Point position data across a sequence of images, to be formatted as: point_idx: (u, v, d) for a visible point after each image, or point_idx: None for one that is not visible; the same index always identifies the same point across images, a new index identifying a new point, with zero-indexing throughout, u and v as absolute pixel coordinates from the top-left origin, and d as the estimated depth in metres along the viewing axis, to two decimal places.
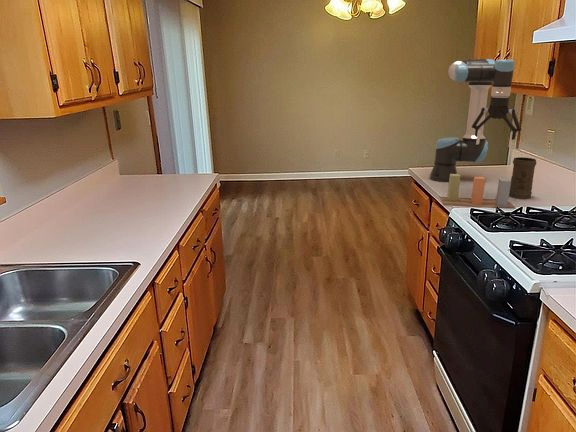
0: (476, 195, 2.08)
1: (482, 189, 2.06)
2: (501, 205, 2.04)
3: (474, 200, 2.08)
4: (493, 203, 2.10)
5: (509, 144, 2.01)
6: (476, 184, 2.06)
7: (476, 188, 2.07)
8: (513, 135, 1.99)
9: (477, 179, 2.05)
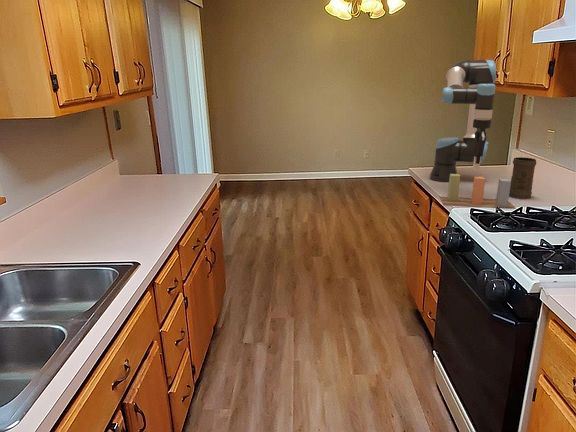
0: (476, 195, 2.08)
1: (482, 189, 2.06)
2: (501, 205, 2.04)
3: (474, 200, 2.08)
4: (493, 203, 2.10)
5: (473, 167, 2.14)
6: (476, 184, 2.06)
7: (476, 188, 2.07)
8: (476, 159, 2.12)
9: (477, 179, 2.05)
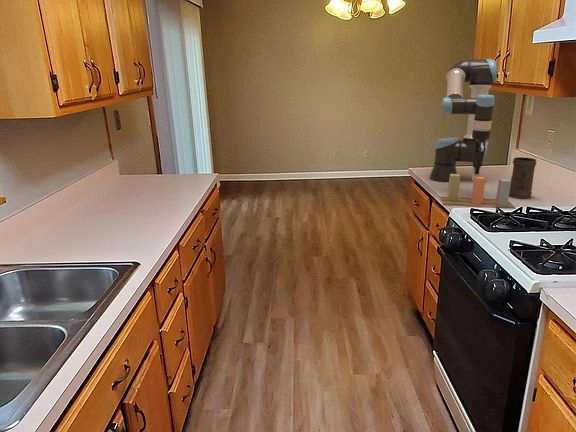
0: (476, 195, 2.08)
1: (482, 189, 2.06)
2: (501, 205, 2.04)
3: (474, 200, 2.08)
4: (493, 203, 2.10)
5: (472, 177, 2.15)
6: (476, 184, 2.06)
7: (476, 188, 2.07)
8: (475, 170, 2.13)
9: (477, 179, 2.05)
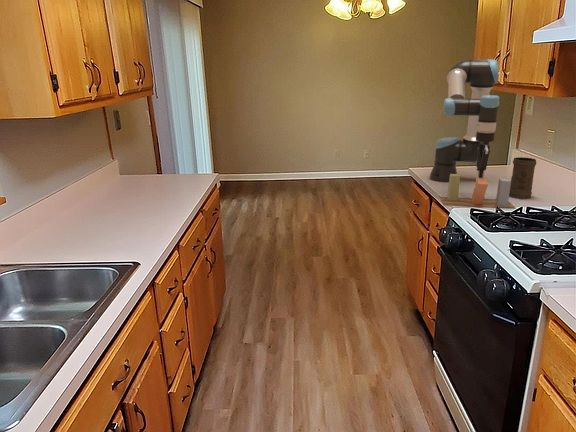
0: (477, 197, 2.06)
1: (483, 192, 2.04)
2: (501, 205, 2.04)
3: (474, 201, 2.08)
4: (493, 203, 2.10)
5: None
6: (478, 188, 2.03)
7: (477, 191, 2.04)
8: (479, 173, 2.05)
9: (479, 184, 2.01)
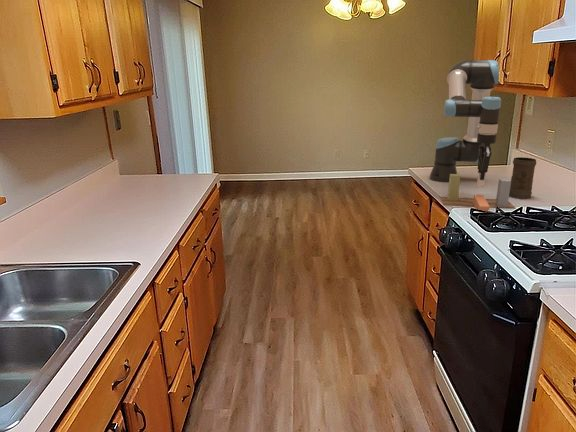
0: None
1: None
2: (501, 205, 2.04)
3: None
4: (493, 203, 2.10)
5: (477, 183, 2.05)
6: None
7: None
8: (480, 175, 2.03)
9: None
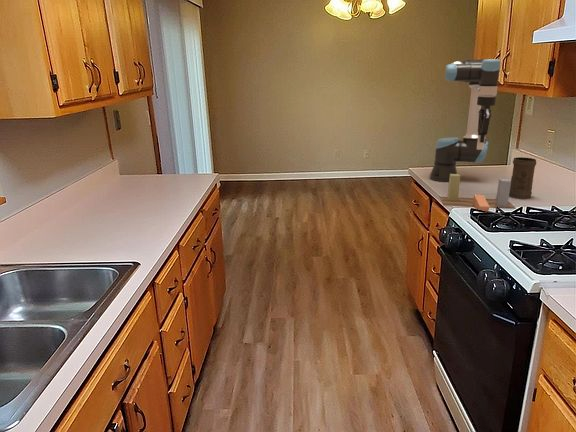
0: None
1: None
2: (501, 205, 2.04)
3: None
4: (493, 203, 2.10)
5: (477, 146, 2.09)
6: None
7: None
8: (480, 138, 2.06)
9: None
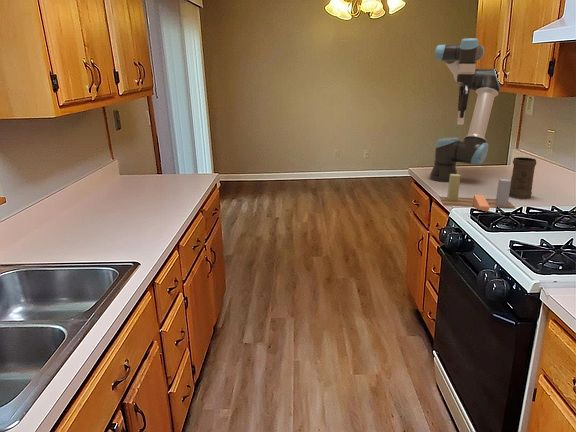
0: None
1: None
2: (501, 205, 2.04)
3: None
4: (493, 203, 2.10)
5: (457, 121, 2.22)
6: None
7: None
8: (460, 113, 2.19)
9: None
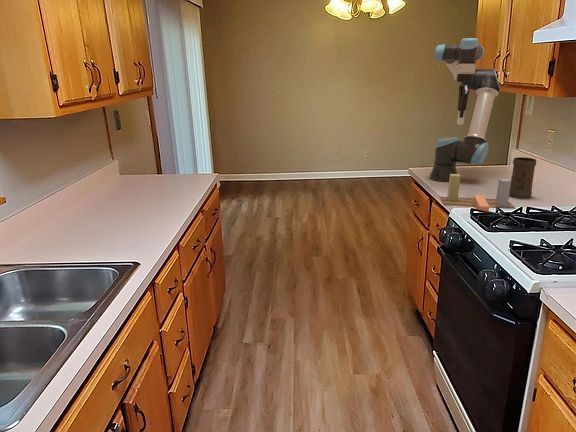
0: None
1: None
2: (501, 205, 2.04)
3: None
4: (493, 203, 2.10)
5: (457, 121, 2.22)
6: None
7: None
8: (460, 113, 2.19)
9: None
